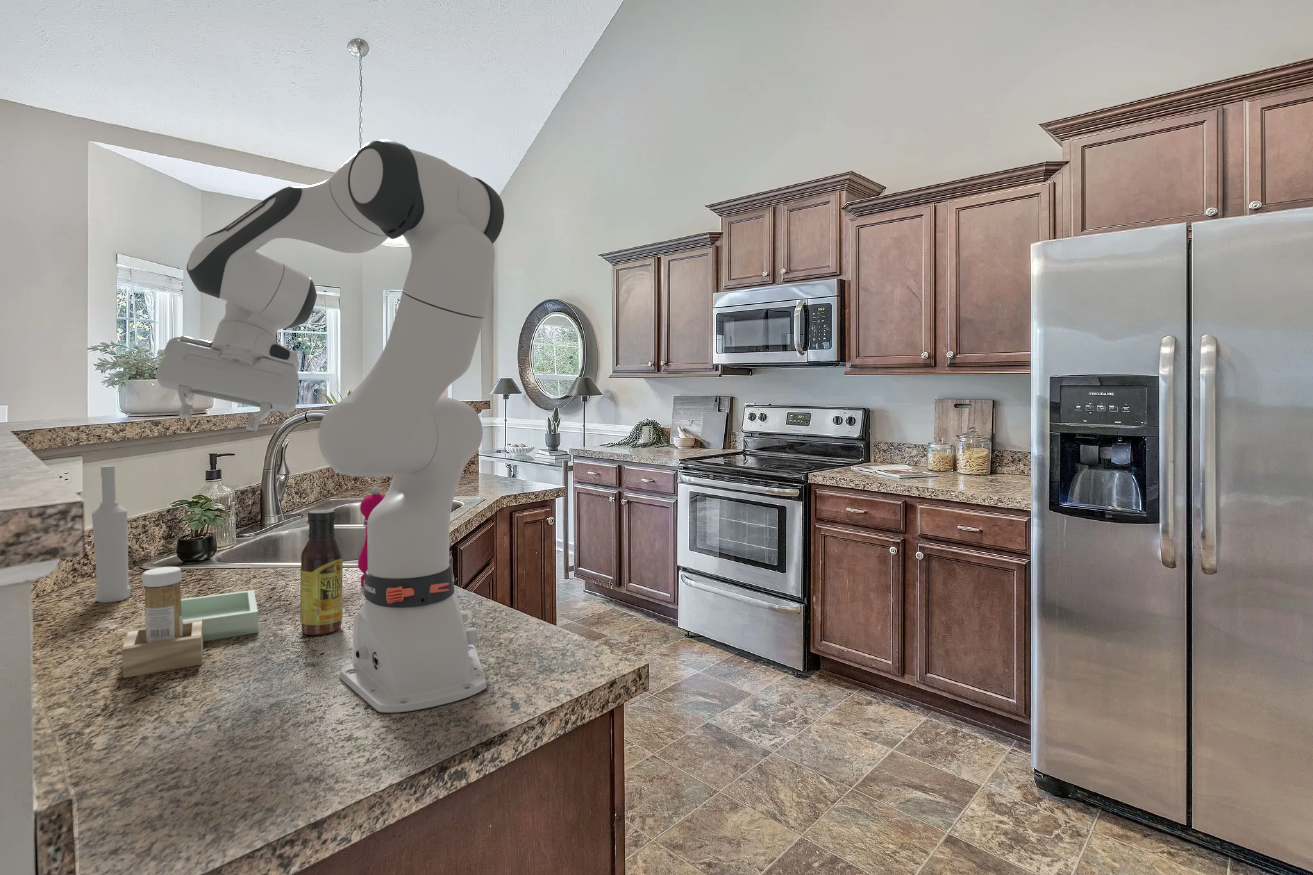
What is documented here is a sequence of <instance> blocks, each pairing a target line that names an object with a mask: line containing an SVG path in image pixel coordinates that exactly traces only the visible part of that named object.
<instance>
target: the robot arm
mask: <svg viewBox="0 0 1313 875" xmlns="http://www.w3.org/2000/svg"><path fill="white" fill-rule="evenodd" d="M504 209H505V208H504V204H503V201H502V198H501V197H500V194H498V192H497V191H496V190H495V189H494V188H493V187H492V186H491V185H489V184H488V183H486V182H485V181H483V180H482V179H480V178H478V177H473V176H471V175H470V174H468V173H466V172H465V171H462V170H461V169H459V168H457V167H455V166H453V165H451V164H450V163H448V162H447V161H446V160H444V159H441V158H439V157H436V156H434V155H430V154H428V153H426V152H423V151H420V150H419V151H418V150H415V149H412V148H408V147H407V146H406V145H404V144H403V143H400V142H398V141H396V140H391V139H380V140H379V139H378V140H372V141H368V142H367V143H365V144H364V145H363V146H362V147H361V148H360V149H359V150H358V151H357V152H356V153H355V154H354V155H352V156H351V157H350V158H349V159H348V160H346V161H345V162H344V163H343V164H342V165H341V166H339V168H337V170H336V171H335V172H334V173H333V174H332V175H331V176H330V177H329V178H328V179H326V180H324V181H322V182H319V183H316V184H312V185H306V186H294V185H288V186H285V187H283V188H281V189H279V190H277V191H276V192H273V193H272V194H270V195H269V196H268V197H266V198H265V199H263V200H262V201H260V202H259V203H258V204H256V205H254V206H253V207H252V208H250V209H249V210H248V211H246V212H245V213H243V214H241V216H239V217H237V218H236V219H235V220H233V221H232V222H230V223H229V224H228V225H226V226H224V227H223V228H221V229H219V230H217V231H215V232H212V233H209V234H208V235H206V236H205V237H204V238H203V239H201V241H199V242H198V243H197V244H196V245H195V246H194V248H193V249H192V251H191V252H190V255H189V258H188V260H187V263H186V272H187V274H188V277H189V278H190V280H191V282H192V283H193V285H194V286H195V288H196V289H197V291H198V292H201V293H203V294H206V295H208V296H212V297H214V298H217V299H222V300H224V301H226V304H225V313H224V316H223V317H222V319H221V320H220V321H219V323H218V325H217V328H216V332H215V334H214V337H213V339H212V341H208V340H204V339H199V338H198V339H197V338H193V337H191V336H186V335H180V336H175V337H172V338H170V339H168V340H167V342H166V346H165V348H164V350H163V351H164V356H163V357H162V360H161V362H160V363H159V366H158V367H157V370H156V372H155V378H156V380H157V382H158V384H159V385H160V387H162V388H164V389H169V390H173V391H177V393H178V394H177V395H178V398H179V400H180V403H181V406H180V408H179V411H178V415H179V417H180V418H185V419H191V418H192V414H193V412H194V410H195V409H194V406H193V404H188V402H187V400H186V399H190V397H191V396H192V395H196V396H197V395H198V396H203V397H207V398H212V399H218V400H222V401H228V402H231V403H238V404H242V405H246V406H251V407H255V408H259V413H258V414H256V415H255V416H254V417H253V416H248V419H247V422H246V427H245V428H246V430H249V431H253V432H257V431H258V427H259V425H260V423H261V422H262V421H264V420H265V419H266V418H268V417H269V415H270V414H271V411H275V412H280V413H284V414H289V413H292V412H293V411H295V410H296V408H297V402H298V396H299V378H300V377H299V373H298V370H299V365H300V364H299V357H298V354H297V353H296V352H295V351H293V350H291V349H289V348H287V347H286V346H283V345H282V344H280V343H278V342H277V333H278V332H279V330H280V329H281V330H287V329H292V328H294V327H298V326H301V325H303V324H305V323H306V322H307V321H308V320H309V319H310V318H311V315H312V313H313V310H314V308H315V304H316V301H317V297H318V296H317V295H318V294H317V290H316V287H315V284H314V281H313V280H312V278H311V277H310V276H308V275H306V274H305V273H303V272H302V271H299V270H298V269H295V268H294V267H292V266H290V265H288V264H286V263H285V262H281V261H279V260H278V259H275V258H274V257H271V256H270V255H268V254H266V253H263V252H262V251H259V249H261V248H262V247H264V246H265V245H266V244H268V243H269V242H272V241H273V240H276V239H290V240H291V239H292V240H296V241H297V240H298V241H303V242H307V243H310V244H314V245H317V246H321V247H323V248H326V249H329V250H332V251H336V252H339V253H344V254H345V253H347V254H363V253H366V252H370V251H371V250H374V249H375V248H377V247H379V246H380V245H381V244H383V243H384V242H385V241H387V239H388V238H389V239H391V240H394V239H397V238H400V237H401V236H402V237H404V239H406V241H407V243H408V244H409V248H410V251H411V253H410V254H411V260H410V265H409V268H408V271H407V273H406V274H407V275H406V277H405V280H404V284H403V288H402V292H401V296H400V299H399V303H398V306H397V309H396V313H395V315H394V320H393V322H392V327H391V329H390V333H389V335H388V339H387V341H386V344H385V345H384V348H383V350H382V352H381V354H380V356H379V358H378V359H377V361H376V363H374V365H373V367H372V369H370V371H369V372H368V374H367V375H366V376H365V377H364V379H363V380H362V381H361V383H359V385H358V386H357V387H356V388H355V389H354V390H352V392H351V393H349V394H348V395H347V396H345V398H343V399H342V400H341V401H339V402H336V404H333V405H331V407H330V408H329V409H328V410H327V411H326V412H325V413H324V415H323V418H322V419H321V421H320V423H319V427H318V428H319V430H318V436H317V437H318V446H319V450H320V452H321V454H322V458H323V459H324V460H325V463H327V464H328V466H329V467H330V469H332V470H333V471H335V472H337V473H338V474H341V475H345V476H350V477H351V476H352V477H357V478H358V477H360V478H370V479H371V478H373V479H375V478H376V479H377V478H383V477H385V478H386V477H390V476H393V477H392V480H391V482H390V486H389V488H388V490H387V493H386V494H385V497H384V499H383V500H382V501H381V502H380V503H379V504H378V505H377V506H376V507H375V508H374V509H373V510H372V512H371V513H370V515H369V518H368V521H367V551H368V570H367V571H366V572H365V580H364V587H363V589H364V598H365V599H366V600H365V602H364V603H363V605H362V607H361V608H360V609H359V610H358V611H357V612H356V613H355V614H354V615H353V625H352V629H353V630H352V632H353V633H352V662H351V663H349V664H347V665H345V666H343V667H342V668H341V669H340V670H339V679H340V680H341V681H343V682H344V683H345V684H346V685H347V686H348V687H349V688H350V689H352V691H354V692H355V693H356V694H358V696H360V697H361V698H362V699H363V700H364V701H365V702H366V703H368V704H369V705H370V706H371V707H372V708H373V709H374V710H376V711H377V712H379V713H402V712H410V711H418V710H424V709H428V708H432V707H433V708H434V707H438V706H441V705H446V704H449V703H453V702H457V701H460V700H463V699H466V698H469V697H472V696H474V695H476V694H479V693H480V692H482V691H484V690H485V689H486V688H487V687H488V686H487V680H486V676H485V673H484V670H483V667H482V664H481V661H480V659H479V655H478V653H477V650H476V646H475V645H476V644H478V631H477V628H476V627H467V628H465V624H464V623H468V620H469V617H468V612H462V611H461V607H460V598H458V597H457V596H456V595H454V594H455V577H454V576H455V575H454V573H453V566H452V565H451V564H450V530H451V529H450V525H451V524H450V522H451V513H452V507H453V502H454V498H455V494H456V491H457V489H458V485H459V482H460V479H461V476H462V474H463V472H464V470H465V467H466V466H467V464H468V462H469V461H470V460H471V459H472V458H473V456H474V455H475V454H476V453H477V452H478V450H479V449H480V447H481V445H482V440H483V424H482V420H481V418H480V415H479V414H478V412H477V410H475V408H474V407H472V406H471V405H470V404H469V403H467V402H464V401H461V400H459V399H455V398H451V397H447V396H443V395H442V394H443V393H444V392H445V391H446V390H447V388H449V386H451V385H452V384H453V383H454V382H455V381H456V380H458V379H460V378H461V377H462V376H463V375H464V374H466V372H467V371H468V369H469V368H470V365H471V363H472V360H473V357H474V353H475V350H476V346H477V343H478V340H479V336H480V332H481V329H482V327H483V326H482V325H483V322H484V319H485V316H486V313H487V312H486V311H487V309H488V305H489V301H490V296H491V290H492V286H493V277H494V270H495V259H496V251H495V247H494V245H493V244H494V243H495V242H496V241H497V240H498V238H499V236H500V234H501V232H502V230H503V227H504V226H503V225H504V222H505V210H504ZM191 394H192V395H191Z"/></svg>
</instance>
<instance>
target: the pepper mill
mask: <svg viewBox="0 0 1313 875" xmlns="http://www.w3.org/2000/svg"><path fill="white" fill-rule="evenodd" d="M381 491H382V490H381V488H380V487H379V486H374V487H372V488H371V490H370V492H371V494H370V495H367V496H365V497H364V498H363V499H362V500H361V502H360V506H359V510H360V513H361V515H363V517H364V518H363V520H362V521H363V524H362V526H363V527H365V539H364V543H363V545H362V548H361V550H360V553H359V556H358V559H357V560H358V561H357V567H358V569H359V570H360V571H361V573H363V574H362V575H360V585H361V586H362V587H363V588H364V580H365V572H366V571H367V570H368V551H367V521H368V518H369V515H370V513H371V512H372V510H373V509H374V508H375V507H376V506H377V505H378V504H379V503H380V502H381V501H382V500H383V499H384V497H385V496H386V494H385V495H384V494H381Z"/></svg>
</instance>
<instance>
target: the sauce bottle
mask: <svg viewBox="0 0 1313 875" xmlns="http://www.w3.org/2000/svg"><path fill="white" fill-rule="evenodd" d="M335 520H336V511H335V510H334V509H315V510H309V511H308V512H307V521H308V523H309V524H308V526H309V528H308V541H307V543H306V545H304V548H303V549H302V551H301V553H300V554H301V555H300V565H301V566H300V573H299V574H300V592H299V593H300V596H299V597H300V600H299V602H300V610H299V611H300V613H299V614H300V619H299V621H300V623H301V633H303V634H304V635H307V636H321V635H328V634H332V633H334V632H337V631H338V630H340V628H341V627H342V620H343V589H344V588H343V587H344V586H343V557H342V556H343V555H342V554H341V551H340V549H339V545H338V543H337V540H336V537H335V536H336V534H335Z"/></svg>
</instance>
